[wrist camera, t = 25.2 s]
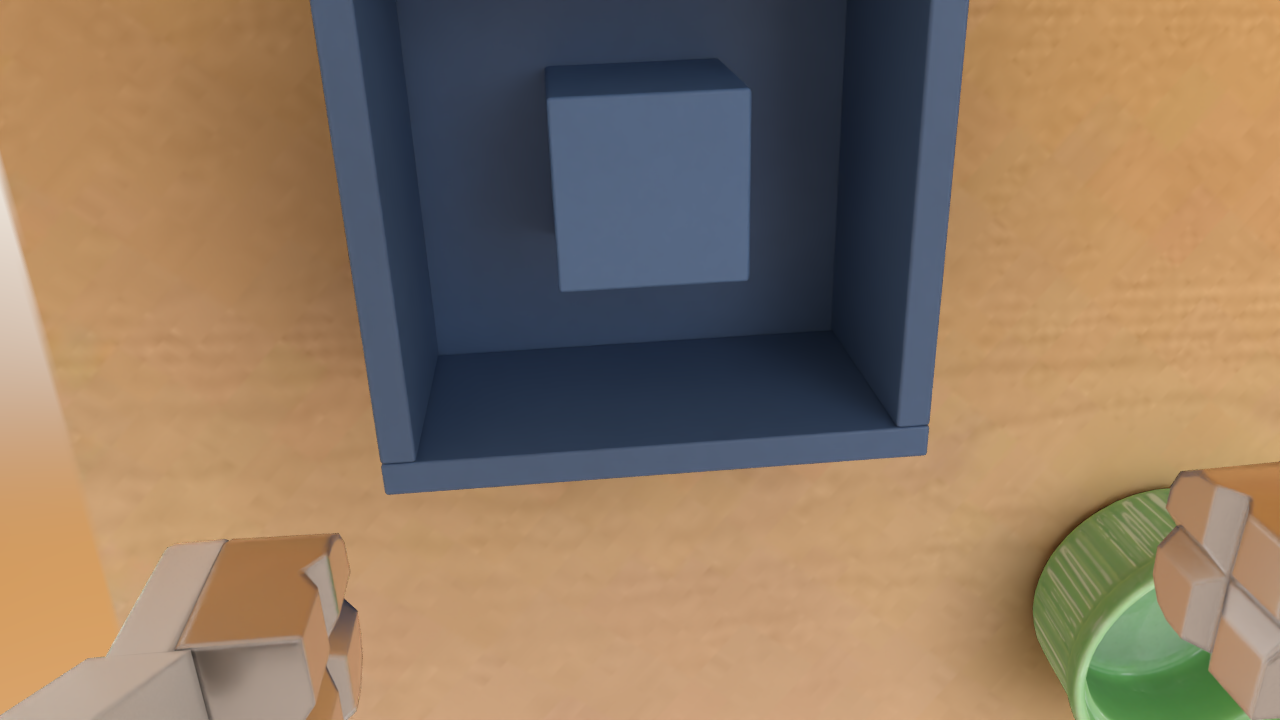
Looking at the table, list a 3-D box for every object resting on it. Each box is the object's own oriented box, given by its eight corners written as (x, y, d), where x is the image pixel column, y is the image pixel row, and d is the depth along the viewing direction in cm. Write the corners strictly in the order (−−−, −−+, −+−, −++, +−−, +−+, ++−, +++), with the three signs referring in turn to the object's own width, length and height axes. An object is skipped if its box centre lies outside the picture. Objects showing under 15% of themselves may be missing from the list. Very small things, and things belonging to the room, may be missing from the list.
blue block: (544, 65, 26) (545, 97, 22) (719, 58, 26) (752, 87, 22) (555, 235, 28) (559, 294, 24) (719, 226, 28) (749, 281, 24)
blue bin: (352, -113, 25) (291, -114, 18) (875, -131, 26) (984, -137, 19) (416, 370, 30) (385, 496, 24) (848, 342, 31) (927, 456, 25)
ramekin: (1186, 708, 38) (1262, 804, 34) (969, 659, 36) (1023, 755, 32) (1323, 504, 35) (1425, 584, 31) (1092, 440, 33) (1169, 516, 29)
